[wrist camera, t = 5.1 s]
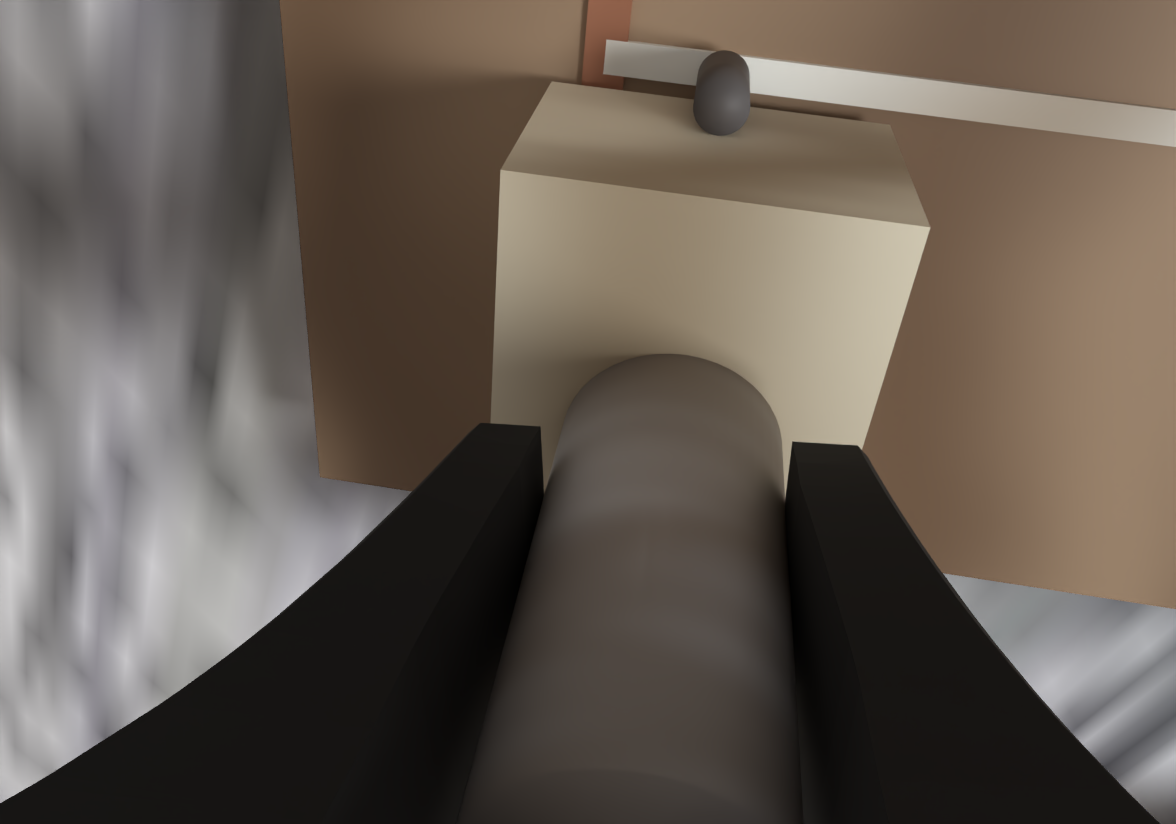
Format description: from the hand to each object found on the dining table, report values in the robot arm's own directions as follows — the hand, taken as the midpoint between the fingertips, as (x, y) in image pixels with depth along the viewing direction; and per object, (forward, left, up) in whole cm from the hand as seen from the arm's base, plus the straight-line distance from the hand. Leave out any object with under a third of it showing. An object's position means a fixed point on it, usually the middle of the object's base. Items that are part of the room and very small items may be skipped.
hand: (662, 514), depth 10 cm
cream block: (0, +1, -6) cm, 6 cm away
